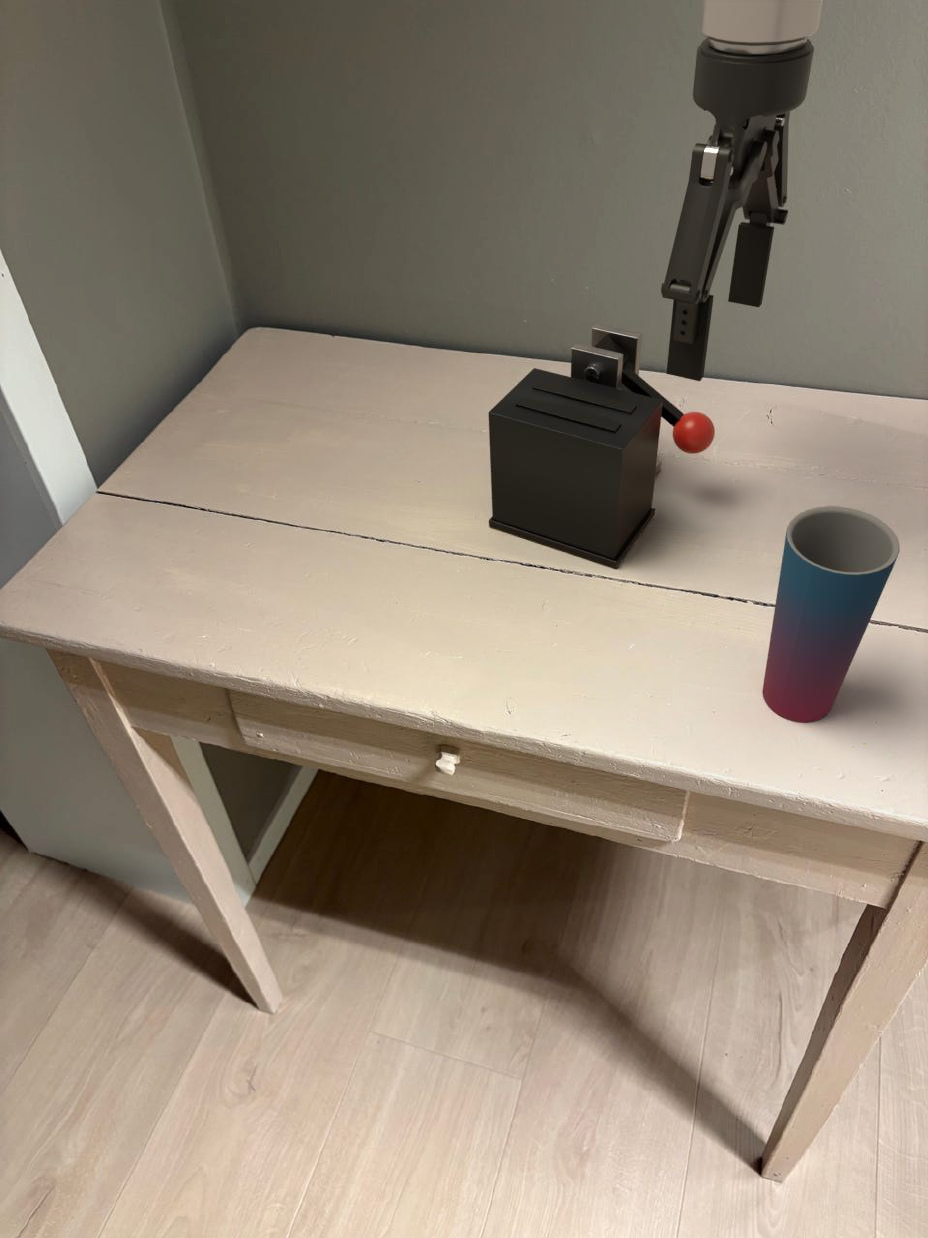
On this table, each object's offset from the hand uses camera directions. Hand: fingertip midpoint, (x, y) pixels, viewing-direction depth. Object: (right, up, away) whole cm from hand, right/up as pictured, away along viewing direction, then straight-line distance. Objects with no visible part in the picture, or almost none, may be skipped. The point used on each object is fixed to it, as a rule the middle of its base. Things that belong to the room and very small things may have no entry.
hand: (716, 337), depth 78 cm
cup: (+4, -29, -7) cm, 30 cm away
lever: (-5, -4, +8) cm, 10 cm away
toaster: (-11, -14, +9) cm, 20 cm away
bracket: (-7, -9, +15) cm, 19 cm away
